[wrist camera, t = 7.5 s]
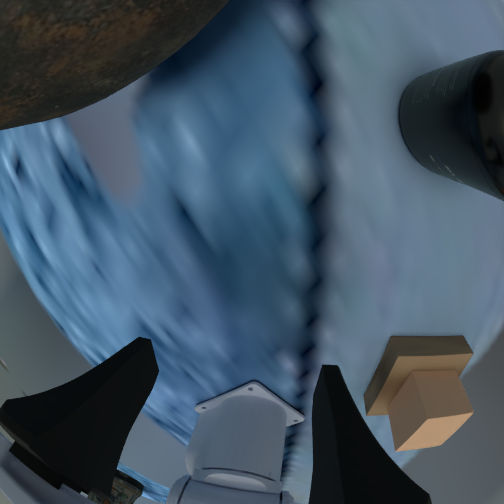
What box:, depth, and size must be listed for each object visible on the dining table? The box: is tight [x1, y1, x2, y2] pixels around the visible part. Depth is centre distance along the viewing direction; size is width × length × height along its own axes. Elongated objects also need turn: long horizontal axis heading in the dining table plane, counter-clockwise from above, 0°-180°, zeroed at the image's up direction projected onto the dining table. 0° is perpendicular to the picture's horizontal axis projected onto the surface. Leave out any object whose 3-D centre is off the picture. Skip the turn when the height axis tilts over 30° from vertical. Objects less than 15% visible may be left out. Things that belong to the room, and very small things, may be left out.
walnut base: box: [364, 336, 473, 416], centre depth 20 cm, size 8×8×3 cm
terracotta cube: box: [387, 370, 474, 451], centre depth 16 cm, size 5×5×5 cm
